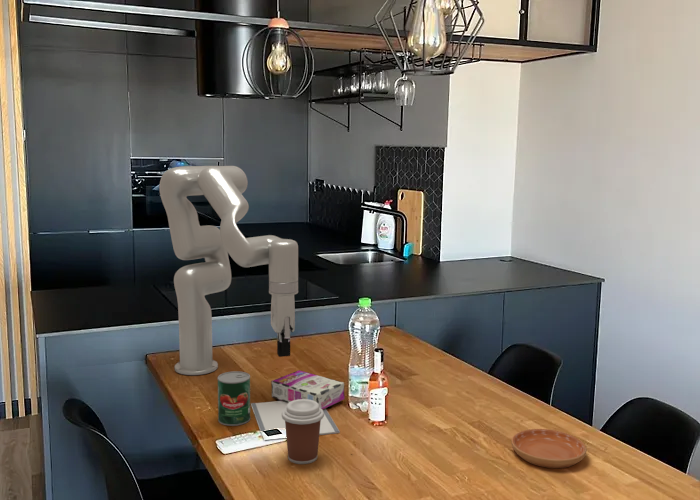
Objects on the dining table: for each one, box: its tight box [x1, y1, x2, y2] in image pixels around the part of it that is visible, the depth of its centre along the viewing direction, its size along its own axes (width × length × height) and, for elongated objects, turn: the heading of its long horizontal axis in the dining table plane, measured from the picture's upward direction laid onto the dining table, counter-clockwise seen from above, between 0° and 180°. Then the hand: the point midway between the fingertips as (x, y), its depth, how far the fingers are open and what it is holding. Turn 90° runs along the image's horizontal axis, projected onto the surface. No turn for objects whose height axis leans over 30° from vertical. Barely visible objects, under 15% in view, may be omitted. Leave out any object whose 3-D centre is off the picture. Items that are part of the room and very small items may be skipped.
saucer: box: [511, 428, 588, 469], centre depth 152 cm, size 16×16×3 cm
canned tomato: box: [217, 370, 251, 427], centre depth 168 cm, size 8×8×11 cm
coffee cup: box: [282, 399, 324, 465], centre depth 148 cm, size 9×9×12 cm
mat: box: [250, 400, 341, 436], centre depth 170 cm, size 22×18×1 cm
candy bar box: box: [271, 370, 345, 410], centre depth 181 cm, size 11×5×16 cm
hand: (283, 355), depth 180 cm, fingers closed
